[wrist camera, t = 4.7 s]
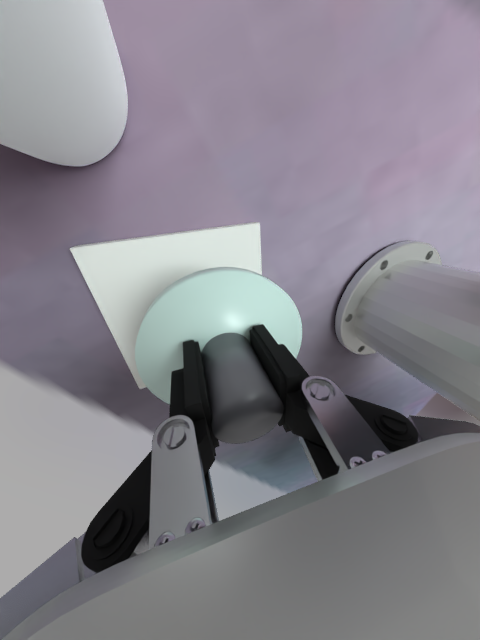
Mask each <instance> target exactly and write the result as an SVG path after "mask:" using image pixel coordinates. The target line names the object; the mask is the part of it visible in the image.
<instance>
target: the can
mask: <svg viewBox="0 0 480 640" xmlns="http://www.w3.org/2000/svg"><path fill="white" fill-rule="evenodd" d="M127 113H128V98H127V88H126V82H125V77H124V73H123V69H122V65H121V61H120V58H119V54H118V51H117V47H116V44H115V40H114V37H113V34H112V30H111V27H110V24H109V20H108V17H107V13H106V10H105V7H104V3H103V0H0V144H2V145H4V146H7V147H9V148H12V149H15V150H17V151H20V152H22V153H25V154H28V155H30V156H33V157H35V158H38V159H41V160H44V161H47V162H51V163H55V164H59V165H65V166H87V165H90V164H93V163H96V162H98V161H99V160H101V159H103V158H104V157H105V156H107V155H108V154H109V153H110V152H111V151H112V150H113V149H114V148H115V147H116V145H117V144H118V143H119V141H120V139H121V137H122V135H123V132H124V129H125V126H126V121H127Z"/></svg>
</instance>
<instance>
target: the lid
mask: <svg viewBox="0 0 480 640" xmlns="http://www.w3.org/2000/svg"><path fill="white" fill-rule="evenodd" d="M261 324H263V325H264V326H265V327H266V329H267V330H268V331H269V333H270V334H271V335H272V337H273V338H274V339H275V341H276V342H277V343H278V345H279V344H284V345H285V346H286V347H287V349H288V350H289V351H290V352H291V354H292V355H293V356H294V357H295V359H296V358H297V355H298V353H299V350H300V346H301V341H302V323H301V318H300V315H299V312H298V309H297V308H296V306H295V304H294V302H293V301H292V299H291V298H290V297H289V295H288V294H287V293H285V292H284V291H283V290H282V289H281V288H280V287H279V286H277V285H276V284H275V283H273V282H272V281H270V280H269V279H268V278H266V277H264V276H262V275H260V274H258V273H256V272H253V271H250V270H247V269H242V268H236V267H216V268H209V269H205V270H200V271H197V272H194V273H192V274H189V275H187V276H184V277H183V278H181V279H179V280H177V281H175V282H174V283H173V284H171V285H170V286H168V287H167V288H166V289H164V290H163V291H162V292H161V293H160V294H159V295H158V296H157V297H156V299H155V300H154V301H153V302H152V304H151V305H150V306H149V308H148V310H147V312H146V314H145V315H144V317H143V320H142V323H141V326H140V329H139V332H138V335H137V339H136V345H135V361H136V366H137V370H138V372H139V375H140V377H141V379H142V381H143V382H144V384H145V385H146V387H147V388H148V389H149V390H150V391H151V392H152V393H153V394H154V395H155V396H156V397H158V398H159V399H161V400H162V401H164V402H165V403H167V404H169V405H170V392H171V373H172V371H175V370H179V369H183V368H184V366H183V342H186V341H190V340H194V342H199V346H200V351H201V355H202V361H203V367H204V373H205V379H206V385H207V391H208V397H209V404H210V410H211V416H212V424H211V426H212V432H213V434H214V436H215V437H216V438H217V439H219V440H220V441H222V442H225V443H231V444H238V443H245V442H249V441H252V440H255V439H257V438H259V437H261V436H263V435H265V434H266V433H268V432H269V431H270V430H272V429H273V428H274V427H275V426H276V425H277V423H278V422H279V421H280V419H281V417H282V415H283V410H284V407H283V403H282V401H281V399H280V397H279V396H278V394H277V392H276V390H275V388H274V386H273V384H272V383H271V381H270V379H269V377H268V375H267V373H266V371H265V370H264V368H263V366H262V364H261V362H260V360H259V359H258V357H257V355H256V353H255V351H254V349H253V347H252V346H251V343H250V330H251V329H252V328H253V326H256V325H261Z"/></svg>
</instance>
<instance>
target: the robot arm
mask: <svg viewBox="0 0 480 640" xmlns="http://www.w3.org/2000/svg"><path fill="white" fill-rule="evenodd" d="M335 330H336V335H337V338H338V340H339V342H340V343H341V344H342V345H343V346H344V347H345V348H347V349H348V350H350V351H351V352H353V353H355V354H361V355H367V354H373V353H376V352H378V353H379V354H381V355H382V356H384V357H385V358H387V359H388V360H390V361H391V362H393V363H394V364H396V365H397V366H398V367H400V368H401V369H403V370H404V371H406V372H407V373H409V374H410V375H412V376H413V377H415V378H416V379H418V380H419V381H421V382H422V383H424V384H425V385H427V386H428V387H430V388H431V389H433V390H434V391H436V392H437V393H439V394H440V395H442V396H443V397H445V398H446V399H448V400H449V401H451V402H452V403H454V404H455V405H456V406H458V407H459V408H461V409H462V410H464V411H465V412H467V413H468V414H470V415H471V416H473V417H474V418H476V419H477V420H479V421H480V273H479V272H474V271H469V270H464V269H459V268H454V267H449V266H444V265H442V263H441V259H440V255H439V253H438V252H437V250H436V249H435V248H434V247H433V246H431V245H430V244H427V243H423V242H416V241H404V242H399V243H396V244H394V245H391V246H389V247H387V248H385V249H384V250H382V251H380V252H379V253H377V254H376V255H375V256H374V257H372V258H371V259H370V260H369V261H368V262H366V263H365V264H364V266H363V267H362V268H361V269H360V270H359V271H358V272H357V273H356V274H355V276H354V277H353V279H352V280H351V282H350V283H349V284H348V286H347V288H346V290H345V292H344V293H343V295H342V298H341V300H340V303H339V305H338V309H337V313H336V318H335ZM250 343H251V346H252V347H253V349H254V351H255V353H256V355H257V357H258V359H259V360H260V362H261V364H262V366H263V368H264V370H265V371H266V373H267V375H268V377H269V379H270V381H271V383H272V384H273V386H274V388H275V390H276V392H277V394H278V396H279V397H280V399H281V401H282V403H283V407H284V410H283V415H282V417H281V419H280V421H279V422H278V425H279V426H282V425H283V427H284V429H285V431H286V432H288V431H292V433H294V434H296V435H298V437H299V440H300V442H301V444H302V446H303V449H304V451H305V453H306V455H307V458H308V460H309V462H310V464H311V466H312V469H313V471H314V473H315V475H316V478H317V480H318V482H316V483H314V484H311V485H308V486H306V487H303V488H301V489H298V490H296V491H293V492H291V493H288V494H286V495H283V496H281V497H279V498H276V499H273V500H271V501H268V502H266V503H263V504H261V505H258V506H256V507H253V508H251V509H249V510H246V511H244V512H241V513H238V514H236V515H233V516H231V517H229V518H226V519H223V520H221V521H219V519H218V514H217V508H216V503H215V498H214V493H213V488H212V483H211V478H210V472H209V469H210V467H211V465H212V464H213V462H214V460H215V457H214V456H216V453H215V447H218V446H219V442H218V439H217V438H216V437H215V436H214V434H213V432H212V426H211V424H212V416H211V410H210V404H209V397H208V391H207V385H206V379H205V373H204V367H203V361H202V355H201V351H200V346H199V342H194V340H190V341H186V342H183V366H184V368H183V369H179V370H175V371H172V373H171V392H170V416H169V418H168V419H166V420H165V421H164V422H162V423H161V424H160V425H159V427H158V428H157V429H156V431H155V433H154V435H153V440H152V451H151V452H150V453H149V454H148V455H147V457H146V458H145V459H144V460H143V461H142V462H141V463H140V465H139V466H138V467H137V468H136V469H135V470H134V471H133V473H132V474H131V475H130V476H129V477H128V478H127V480H126V481H125V482H124V483H123V484H122V485H121V487H120V488H119V489H118V490H117V491H116V493H114V495H113V496H112V497H111V498H110V499H109V500H108V502H107V503H106V504H105V505H104V506H103V507H102V509H101V510H100V511H99V512H98V513H97V515H96V516H95V518H94V519H93V520H92V521H91V523H90V525H89V527H88V529H87V531H86V532H85V533H84V534H83V535H82V536H80V537H79V538H78V539H77V538H75V537H74V538H73V539H72V540H70V541H69V542H68V543H67V544H66V545H64V546H63V547H62V548H61V549H59V550H58V551H57V552H56V553H55V554H53V555H52V556H51V557H50V558H49V559H47V560H46V561H45V562H44V563H42V564H41V565H40V566H39V567H38V568H36V569H35V570H34V571H33V572H32V573H30V574H29V575H28V576H27V577H25V578H24V579H23V580H22V581H21V582H19V583H18V584H17V585H16V586H15V587H13V588H12V589H11V590H10V591H9V592H7V593H6V594H5V595H4V596H3V597H1V598H0V640H480V426H479V425H476V424H474V423H470V422H466V421H458V420H449V419H440V418H431V417H421V416H413V415H409V417H408V418H406V417H405V416H403V415H402V414H400V413H398V412H396V411H394V410H391V409H388V408H385V407H382V406H379V405H375V404H372V403H369V402H366V401H363V400H360V399H357V398H353V397H350V396H347V395H344V394H343V392H342V391H341V390H340V389H339V387H338V386H337V385H336V384H335V383H334V382H333V381H331V380H330V379H328V378H325V377H322V376H311V377H310V376H309V375H308V374H307V373H306V371H305V370H304V369H303V367H302V366H301V365H300V364H299V362H298V361H297V360H296V359H295V357H294V356H293V355H292V354H291V352H290V351H289V350H288V349H287V347H286V346H285V345H284V344H279V345H278V343H277V342H276V341H275V339H274V338H273V337H272V335H271V334H270V333H269V331H268V330H267V329H266V327H265V326H264V325H263V324H261V325H256V326H253V328H252V329H251V330H250Z"/></svg>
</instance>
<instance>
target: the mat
mask: <svg viewBox="0 0 480 640" xmlns="http://www.w3.org/2000/svg"><path fill="white" fill-rule="evenodd" d="M70 250H71V252H72V254H73V256H74V258H75V260H76V262H77V264H78V266H79V268H80V270H81V272H82V274H83V276H84V279H85V281H86V283H87V285H88V287H89V289H90V291H91V293H92V295H93V297H94V299H95V301H96V303H97V305H98V307H99V309H100V311H101V313H102V315H103V317H104V319H105V321H106V323H107V325H108V327H109V329H110V331H111V333H112V335H113V337H114V339H115V341H116V343H117V345H118V347H119V349H120V351H121V353H122V355H123V357H124V359H125V361H126V363H127V365H128V367H129V369H130V371H131V373H132V375H133V377H134V379H135V381H136V383H137V385H138V387H139V389H143V388H146V385H145V384H144V382H143V381H142V379H141V377H140V375H139V372H138V370H137V366H136V361H135V345H136V339H137V335H138V332H139V329H140V326H141V323H142V320H143V317H144V315H145V314H146V312H147V310H148V308H149V306H150V305H151V304H152V302H153V301H154V300H155V299H156V297H157V296H158V295H159V294H160V293H161V292H162V291H163V290H164V289H166V288H167V287H168V286H170V285H171V284H173V283H174V282H175V281H177V280H179V279H181V278H183V277H184V276H187V275H189V274H192V273H194V272H197V271H200V270H205V269H209V268H216V267H236V268H242V269H247V270H250V271H253V272H256V273H258V274H260V275H262V270H261V243H260V223H256V222H252V223H245V224H237V225H229V226H222V227H214V228H207V229H199V230H191V231H184V232H176V233H168V234H161V235H153V236H146V237H138V238H130V239H123V240H115V241H107V242H100V243H92V244H85V245H77V246H74V247H72V248H70Z"/></svg>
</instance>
